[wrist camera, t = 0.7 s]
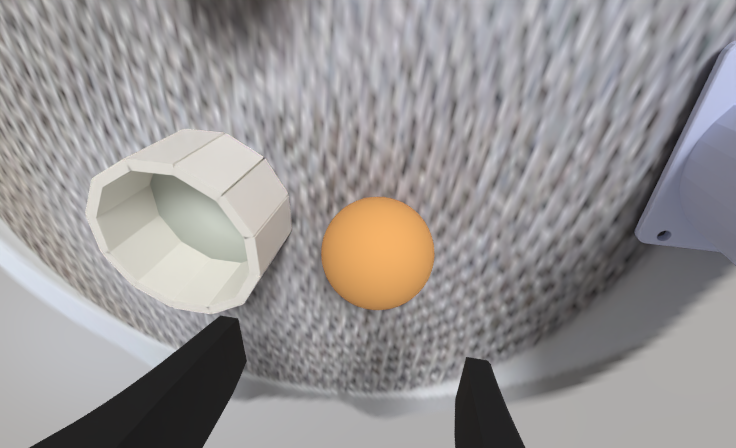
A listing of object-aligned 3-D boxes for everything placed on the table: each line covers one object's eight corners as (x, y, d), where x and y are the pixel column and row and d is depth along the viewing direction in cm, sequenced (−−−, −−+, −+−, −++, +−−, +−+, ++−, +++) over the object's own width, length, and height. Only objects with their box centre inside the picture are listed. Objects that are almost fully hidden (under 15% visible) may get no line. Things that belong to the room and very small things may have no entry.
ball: (442, 184, 17) (440, 245, 13) (429, 270, 20) (424, 343, 16) (336, 173, 18) (302, 227, 14) (337, 257, 20) (309, 324, 16)
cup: (283, 138, 17) (244, 171, 14) (295, 272, 22) (267, 323, 18) (129, 123, 18) (58, 151, 15) (169, 254, 23) (120, 299, 19)
